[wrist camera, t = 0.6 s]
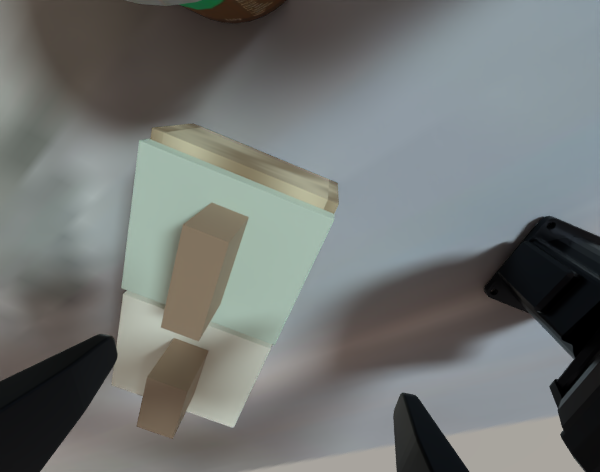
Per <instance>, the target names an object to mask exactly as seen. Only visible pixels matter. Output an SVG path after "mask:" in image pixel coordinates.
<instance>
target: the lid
mask: <svg viewBox="0 0 600 472" xmlns="http://www.w3.org/2000/svg"><path fill="white" fill-rule="evenodd" d="M164 310H165V304H162V303H160V302H157V301H154V300H152V299H149V298H146V297H144V296H141V295H138V294H136V293H133V292H130V291H128V290H127V291H126V292H125V293H124V294H123V299H122V307H121V315H120V322H119V330H118V338H117V346H116V349H117V353H118V357H117V360H116V363H115V364H114V369H113V377H112V385H113V386H115V387H118V388H121V389H124V390H127V391H130V392H133V393H135V394H138V395H141V396H143V398H142V403H141V408H140V413H139V417H138V422H137V427H140V428H142V429H145V430H148V431H151V432H154V433H157V434H160V435H163V436H166V437H169V438H171V439H173V437H174V435H175V433H176V431H177V429H178V427H179V425H180V423H181V421H182V419H183V417H184V414H185V412H186V411H187V412H189V413H192V414H195V415H198V416H201V417H204V418H206V419H209V420H212V421H215V422H218V423H221V424H223V425H226V426H229V427H232V428H234V426H235V424H236V422H237V420H238V417H239V415H240V413H241V411H242V409H243V407H244V405H245V403H246V400H247V398H248V396H249V394H250V392H251V390H252V388H253V386H254V383H255V381H256V379H257V377H258V375H259V373H260V371H261V369H262V367H263V364H264V362H265V360H266V358H267V356H268V354H269V352H270V350H271V346H272V344H270V343H267V342H264V341H262V340H259V339H256V338H254V337H251V336H248V335H246V334H243V333H240V332H238V331H235V330H232V329H230V328H227V327H224V326H221V325H219V324H216V323H213V322H211V321H210V323H209V325H208V327H207V328H206V330H205V332H204V333H203V335H202V337H201V339H200V340H199V341H196V340H193V339H191V338H188V337H185V336H183V335H180V334H177V333H174V332H172V331H169V330H166V329H164V328H161V323H162V319H163V314H164Z"/></svg>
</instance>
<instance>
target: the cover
mask: <svg viewBox="0 0 600 472" xmlns="http://www.w3.org/2000/svg"><path fill="white" fill-rule="evenodd" d="M333 221H334V214H333V213H331V212H328V211H326V210H323V209H321V208H318V207H316V206H313V205H311V204H309V203H306V202H304V201H301V200H299V199H296V198H294V197H291V196H289V195H286V194H284V193H281V192H279V191H277V190H274V189H272V188H269V187H267V186H264V185H262V184H259V183H257V182H254V181H252V180H249V179H247V178H245V177H242V176H240V175H237V174H235V173H232V172H230V171H227V170H225V169H222V168H220V167H217V166H215V165H212V164H210V163H208V162H205V161H203V160H200V159H198V158H195V157H193V156H190V155H188V154H185V153H183V152H180V151H178V150H176V149H173V148H171V147H168V146H166V145H163V144H161V143H158V142H156V141H153V140H151V139H145V140H139V147H138V155H137V164H136V172H135V180H134V188H133V196H132V204H131V213H130V221H129V229H128V237H127V245H126V253H125V262H124V270H123V278H122V286H121V288H122V289H125V290H128V291H130V292H133V293H136V294H138V295H141V296H144V297H146V298H149V299H152V300H154V301H157V302H160V303H162V304H165V310H164V314H163V319H162V323H161V328H164V329H166V330H169V331H172V332H174V333H177V334H180V335H183V336H185V337H188V338H191V339H193V340H196V341H199V340H200V339H201V337H202V335H203V333H204V332H205V330H206V328H207V327H208V325H209V323H210V321H211V322H213V323H216V324H219V325H221V326H224V327H227V328H230V329H232V330H235V331H238V332H240V333H243V334H246V335H248V336H251V337H254V338H256V339H259V340H262V341H264V342H267V343H270V344H272V345H275V343H276V341H277V339H278V337H279V335H280V333H281V331H282V328H283V326H284V324H285V322H286V320H287V318H288V316H289V314H290V312H291V310H292V307H293V305H294V303H295V301H296V299H297V297H298V295H299V293H300V291H301V289H302V286H303V284H304V282H305V280H306V278H307V276H308V274H309V272H310V270H311V268H312V265H313V263H314V261H315V259H316V257H317V255H318V253H319V251H320V249H321V246H322V244H323V242H324V240H325V238H326V236H327V234H328V232H329V230H330V228H331V225H332V223H333Z"/></svg>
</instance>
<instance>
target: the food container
mask: <svg viewBox="0 0 600 472" xmlns="http://www.w3.org/2000/svg"><path fill="white" fill-rule="evenodd" d="M126 1H129V2H133V3H137V4H147V5H161V6H170V5H178V4H179V5H181V6H183V7H185V8H187V9H189V10H191V11H193V12H196V13H198V14H200V15H202V16H204V17H206V18H209V19H211V20H215V21H219V22H224V23H241V22H248V21H252V20H255V19H258V18H261V17H263V16H265V15H267V14H268V13H270V12H272V11H274V10H275V9H277V8H278V7H279V6H280V5H282V4H283V3H284V2H285V1H286V0H126Z"/></svg>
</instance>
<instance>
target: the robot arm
mask: <svg viewBox="0 0 600 472" xmlns="http://www.w3.org/2000/svg"><path fill="white" fill-rule="evenodd" d="M550 222H551V225H550V226H549V227H547V224H549V223H550ZM493 289H495V290H494V291H492V292H491V290H493ZM484 292H485V293H486V295H487V296H488V297H490V298H493V299H495V300H498V301H500V302H503V303H505V304H508V305H510V306H513V307H515V308H518V309H520V310H523V311H525V312H527V313H530V314H531V315H532V316H533V317H534V318H535V319H536V320H537V321H538V322H539V323H540V324H541V326H542V327H543V328H544V329H545V330H546V331H547V332H548V333H549V334H550V335H551V336H552V337H553V338H554V339H555V340H556V341H557V342H558V343H559V344H560V345H561V346H562V347H563V348H564V349H565V350H566V352H567V353H568V354H569V355H570V356H571V357H572V358H573V359H574V360H573V361H572V362H571V364H570V365H569V366H568V367H567V369H566V370H565V371H564V372H563V374H562V375H561V376H560V377H559V379H555V380H554V381H553V382H552V384H551V385H550V390H551V392H552V395H553V397H554V400H555V402H556V405H557V407H558V413H559V417H560V421H561V425H562V428H563V431H562V432H561V434H560V435H561V438H562V440H563V441H564V443H565V444H566V446H567V448H568V449H569V451H570V452H571V454H572V456H573V457H574V459H575V460H576V461H577V462H578V464H579V465H580V466H581V467H582V468H583V470H584V471H585V472H600V237H599V236H597V235H594V234H592V233H590V232H587V231H585V230H583V229H580V228H578V227H576V226H573V225H571V224H569V223H566V222H564V221H562V220H559V219H557V218H555V217H552V216H547V217H544V218H542V219H541V220H540V221H539V222H538V224H537V225H536V226H535V227H534V228H533V230H532V231H531V232H530V233H529V234H528V236H527V237H526V238H525V239H524V240H523V242H522V243H521V244H520V245H519V246H518V248H517V249H516V250H515V251H514V252H513V254H512V255H511V256H510V257H509V258H508V260H507V261H506V262H505V263H504V264H503V266H502V267H501V268H500V269H499V270H498V272H497V273H496V274H495V275H494V276H493V278H492V279H491V280H490V281H489V282H488V284H487V285H486V286H485V288H484ZM117 357H118V353H117V349H116V344H115V340H114V338H113V337H112V336H109V335H104V334H99V335H96V336H94V337H92V338H90V339H88V340H86V341H84V342H81V343H79V344H77V345H75V346H73V347H71V348H69V349H67V350H65V351H63V352H61V353H58V354H56V355H54V356H52V357H50V358H48V359H46V360H44V361H42V362H40V363H38V364H36V365H33V366H31V367H29V368H27V369H25V370H23V371H21V372H19V373H17V374H15V375H13V376H11V377H8V378H6V379H4V380H2V381H0V472H40V471H41V470H42V468H43V467H44V466H45V464H46V463H47V462H48V460H49V459H50V458H51V456H52V455H53V454H54V452H55V451H56V450H57V448H58V447H59V446H60V444H61V443H62V442H63V440H64V439H65V438H66V436H67V435H68V434H69V432H70V431H71V429H72V428H73V427H74V425H75V424H76V423H77V421H78V420H79V419H80V417H81V416H82V415H83V413H84V412H85V410H86V409H87V407H88V406H89V404H90V403H91V401H92V400H93V398H94V396H95V395H96V393H97V392H98V390H99V388H100V387H101V385H102V384H103V382H104V380H105V379H106V377H107V376H108V374H109V372H110V371H111V369H112V368H113V366H114V364H115V363H116V360H117ZM393 419H394V435H395V451H396V466H397V472H469V471H468V469H467V468H466V466H465V465H464V463H463V462H462V460H461V459H460V458H459V456H458V455H457V453H456V452H455V450H454V449H453V448H452V446H451V445H450V443H449V442H448V440H447V439H446V437H445V436H444V435H443V433H442V432H441V430H440V429H439V427H438V426H437V424H436V423H435V422H434V420H433V419H432V417H431V416H430V414H429V413H428V411H427V410H426V409H425V407H424V406H423V404H422V403H421V401H420V400H419V399H418V397H417V396H415V395H413V394H408V393H401V394H400V396H399V399H398V402H397V404H396V407H395V409H394V416H393Z"/></svg>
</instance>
